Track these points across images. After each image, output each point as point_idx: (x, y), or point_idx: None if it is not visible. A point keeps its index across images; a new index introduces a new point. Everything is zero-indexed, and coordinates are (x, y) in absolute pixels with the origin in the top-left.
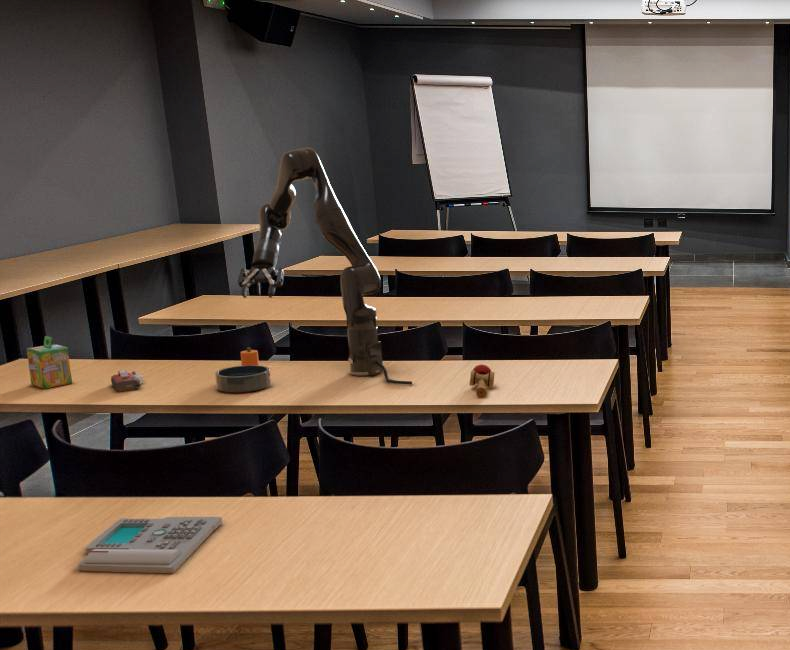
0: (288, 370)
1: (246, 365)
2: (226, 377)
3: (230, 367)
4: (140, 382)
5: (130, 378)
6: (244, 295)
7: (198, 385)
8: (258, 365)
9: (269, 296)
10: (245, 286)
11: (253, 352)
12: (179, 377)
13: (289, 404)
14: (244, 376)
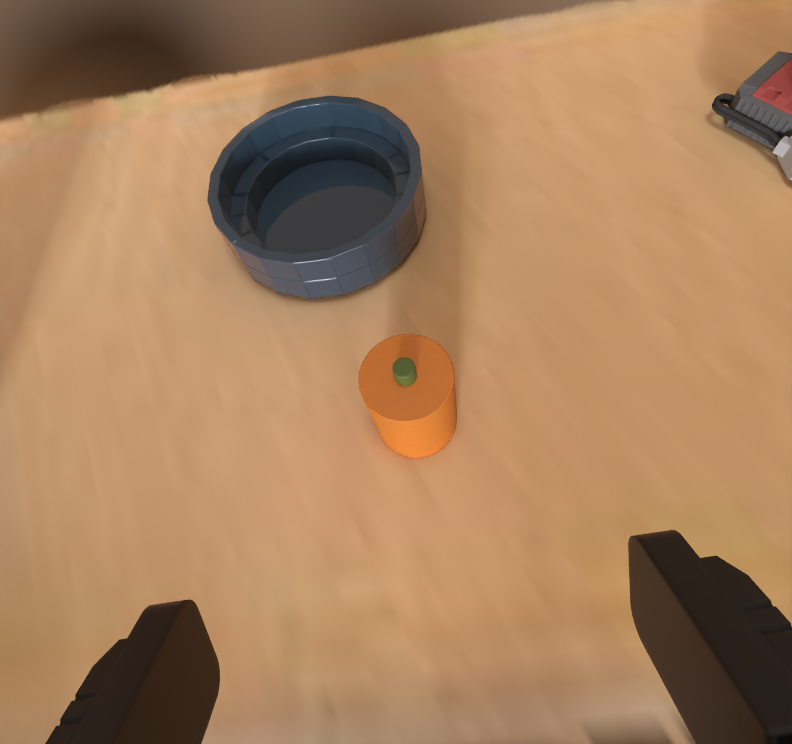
0: (260, 507)
1: (343, 250)
2: (332, 97)
3: (398, 209)
4: (784, 163)
5: (781, 89)
6: (629, 549)
7: (527, 210)
8: (287, 260)
9: (199, 640)
10: (743, 680)
11: (368, 360)
12: (719, 299)
13: (111, 103)
14: (266, 113)
